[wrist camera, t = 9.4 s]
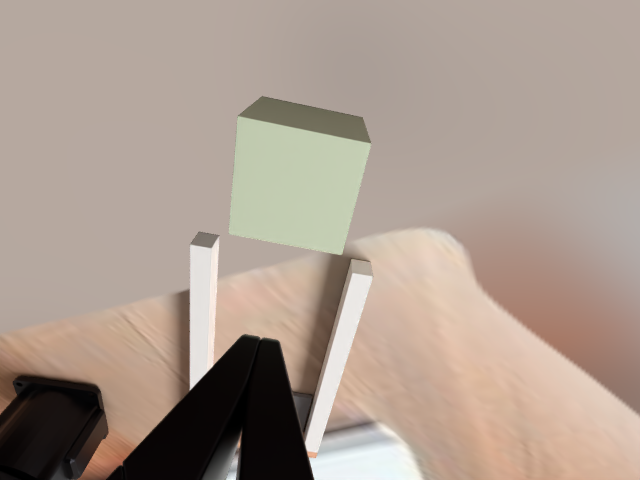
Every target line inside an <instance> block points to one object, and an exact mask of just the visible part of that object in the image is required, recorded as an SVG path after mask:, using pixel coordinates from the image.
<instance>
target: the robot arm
mask: <svg viewBox="0 0 640 480" xmlns="http://www.w3.org/2000/svg"><path fill="white" fill-rule="evenodd" d="M13 385H14V388H15V391H16V393H17V396H16V397H15V399H14V400H13V401H12V402H11V403H10V404H9V405H8V406H7V408H6V409H5V410H4V411H3V412H2V413H1V414H0V480H77V479H78V478H80V477H81V475H82V473H83V472H84V470H85V468H86V466H87V465H88V463H89V461H90V460H91V458H92V456H93V454H94V453H95V451H96V449H97V447H98V446H99V444H100V442H101V441H102V439H105V438H106V437H107V435H108V426H107V420H106V415H105V411H104V406H103V401H102V396H101V391H100V390H99V389H98V388H96V387H91V386H84V385H78V384H71V383H65V382H58V381H51V380H45V379H38V378H31V377H25V376H18V377H17V378H16V379H15V380H14V381H13ZM241 432H242V434H241ZM240 436H241V442H240V449H239V458H238V466H237V475H236V480H314V477H313V473H312V469H311V465H310V461H309V457H308V453H307V449H306V445H305V441H304V437H303V433H302V429H301V425H300V421H299V417H298V413H297V409H296V405H295V401H294V397H293V393H292V389H291V385H290V381H289V377H288V373H287V369H286V365H285V361H284V357H283V353H282V349H281V345H280V342H279V341H278V340H275V339H270V338H262V339H260V337H258V336H253V335H247V334H244V335H242V336H241V337H240V338H239V339H238V340H237V341H236V342H235V343H234V344H233V345H232V346H231V347H230V348H229V349H228V351H227V352H226V353H225V354H224V355H223V356H222V357H221V358H220V359H219V360H218V361H217V362H216V363H215V364H214V365H213V366H212V368H211V369H210V370H209V371H208V372H207V373H206V374H205V375H204V376H203V377H202V378H201V379H200V380H199V381H198V382H197V383H196V384H195V386H194V387H193V388H192V389H191V390H190V391H189V392H188V393H187V394H186V395H185V396H184V397H183V398H182V399H181V400H180V401H179V403H178V404H177V405H176V406H175V407H174V408H173V409H172V410H171V411H170V412H169V413H168V414H167V415H166V416H165V417H164V418H163V419H162V421H161V422H160V423H159V424H158V425H157V426H156V427H155V428H154V429H153V430H152V431H151V432H150V433H149V434H148V435H147V436H146V438H145V439H144V440H143V441H142V442H141V443H140V444H139V445H138V446H137V447H136V448H135V449H134V450H133V451H132V452H131V453H130V455H129V456H128V457H127V458H126V459H125V460H124V461H123V466H122V465H120V466H118V467H117V468H116V469H115V470H114V471H113V472H112V473H111V474H110V475H109V477H108V478H107V479H106V480H226V478H227V475H228V472H229V469H230V466H231V463H232V460H233V458H234V455H235V452H236V449H237V446H238V443H239V440H240Z"/></svg>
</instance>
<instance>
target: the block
mask: <svg viewBox="0 0 640 480" xmlns="http://www.w3.org/2000/svg"><path fill="white" fill-rule="evenodd" d="M370 147H371V141H370V138H369V135H368V132H367V129H366V126H365V123H364V120H363V117H359V116H354V115H349V114H344V113H339V112H334V111H330V110H325V109H320V108H316V107H311V106H306V105H302V104H297V103H292V102H287V101H282V100H278V99H273V98H268V97H263V96H262V97H261V98H259V99H258V100H257V101H256V102H254V103H253V104H252V105H251V106H250V107H248V108H247V109H246V110H245V111H243V112H242V113H241V114H240V115H238V117H237V131H236V144H235V158H234V171H233V184H232V197H231V211H230V224H229V234H231V235H236V236H241V237H247V238H253V239H257V240H263V241H268V242H274V243H279V244H284V245H290V246H295V247H300V248H306V249H311V250H317V251H322V252H327V253H333V254H338V255H342V253H343V249H344V245H345V241H346V238H347V234H348V230H349V226H350V223H351V219H352V215H353V211H354V207H355V204H356V200H357V196H358V192H359V189H360V185H361V181H362V177H363V174H364V170H365V166H366V162H367V158H368V155H369V151H370Z"/></svg>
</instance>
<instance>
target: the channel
mask: <svg viewBox="0 0 640 480" xmlns="http://www.w3.org/2000/svg"><path fill="white" fill-rule="evenodd" d="M218 252H219V235H214V234H209V233H203V232H198V234H197V235H196V237H195V238H194V240H193V241H192V243H191V244H190V390H191V389H192V388H193V387H194V386H195V384H196V383H197V382H198V381H199V380H200V379H201V378H202V377H203V376H204V375H205V374H206V373H207V372H208V371H209V370H210V369H211V368H212V366H213V357H214V336H215V315H216V294H217V272H218ZM372 279H373V272H372V266H371V262H367V261H362V260H356V259H351V263H350V266H349V270H348V274H347V277H346V281H345V285H344V289H343V292H342V296H341V300H340V303H339V307H338V311H337V314H336V318H335V322H334V325H333V329H332V333H331V337H330V340H329V344H328V348H327V351H326V355H325V359H324V362H323V366H322V370H321V373H320V377H319V381H318V385H317V388H316V392H315V396H314V399H313V403H312V407H311V410H310V414H309V418H308V421H307V425H306V429H305V433H304V441H305V445H306V449H307V451H309V452H316V453H317V452H318V449H319V446H320V443H321V440H322V437H323V434H324V430H325V427H326V424H327V421H328V418H329V415H330V411H331V408H332V405H333V402H334V399H335V396H336V392H337V389H338V386H339V383H340V380H341V377H342V374H343V370H344V367H345V364H346V361H347V358H348V355H349V351H350V348H351V345H352V342H353V339H354V336H355V332H356V329H357V326H358V323H359V320H360V317H361V313H362V310H363V307H364V304H365V301H366V298H367V295H368V291H369V288H370V285H371V282H372Z"/></svg>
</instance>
